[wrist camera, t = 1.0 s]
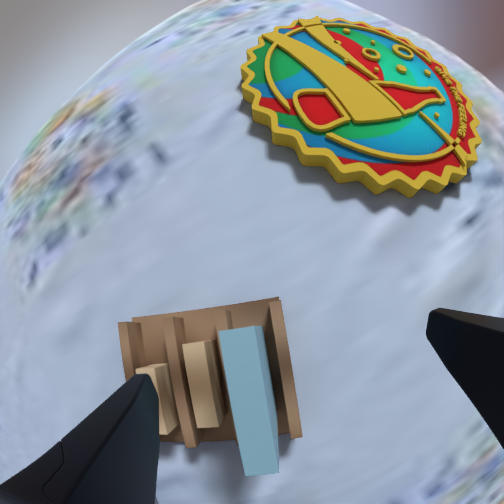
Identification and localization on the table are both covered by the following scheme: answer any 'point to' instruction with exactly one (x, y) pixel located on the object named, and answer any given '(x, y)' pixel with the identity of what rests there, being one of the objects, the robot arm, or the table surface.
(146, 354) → the rack
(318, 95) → the decorative plaque
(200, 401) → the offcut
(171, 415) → the offcut small
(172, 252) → the table surface
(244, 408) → the tall sheet
